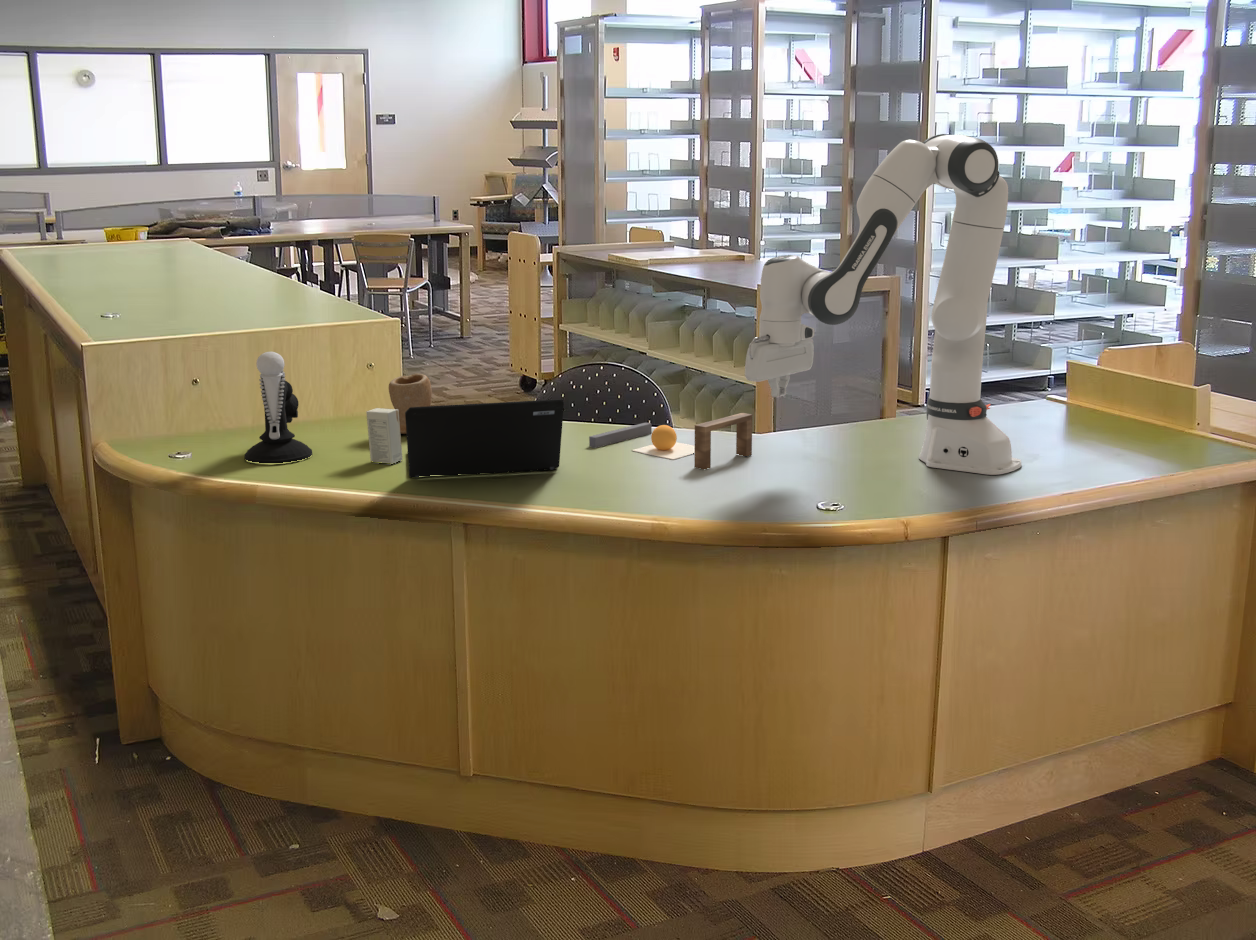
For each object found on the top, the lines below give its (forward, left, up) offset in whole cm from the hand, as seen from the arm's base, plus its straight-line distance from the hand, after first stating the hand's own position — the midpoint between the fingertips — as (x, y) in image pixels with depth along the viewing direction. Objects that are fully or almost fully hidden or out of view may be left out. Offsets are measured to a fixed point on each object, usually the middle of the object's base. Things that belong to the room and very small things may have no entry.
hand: (778, 396), depth 273 cm
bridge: (+15, 0, -17) cm, 23 cm away
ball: (+32, +1, -14) cm, 35 cm away
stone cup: (+90, +28, -17) cm, 96 cm away
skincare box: (+73, +51, -17) cm, 91 cm away
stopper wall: (+47, 0, -17) cm, 50 cm away
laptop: (+51, +40, -18) cm, 68 cm away
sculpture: (+99, +62, -17) cm, 118 cm away
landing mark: (+31, 0, -17) cm, 35 cm away
